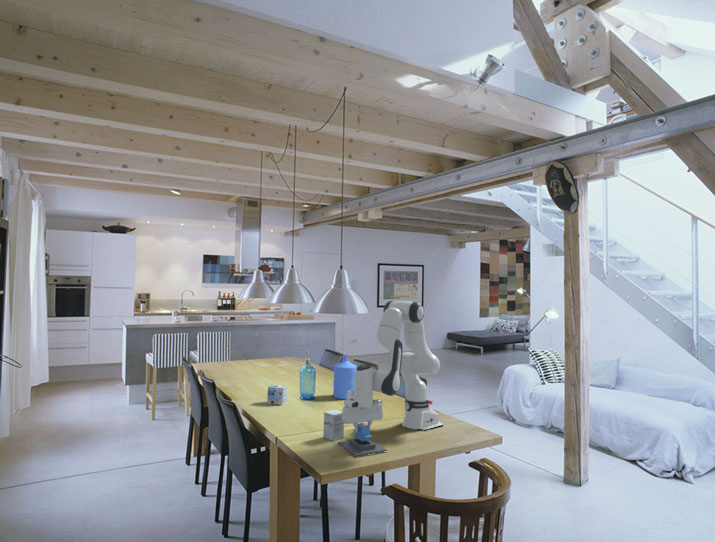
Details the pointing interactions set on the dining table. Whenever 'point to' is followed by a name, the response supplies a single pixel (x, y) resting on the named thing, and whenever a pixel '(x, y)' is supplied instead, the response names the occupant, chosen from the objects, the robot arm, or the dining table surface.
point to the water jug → (343, 378)
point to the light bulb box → (277, 394)
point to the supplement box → (333, 425)
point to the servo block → (363, 432)
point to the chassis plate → (361, 447)
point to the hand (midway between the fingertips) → (362, 431)
